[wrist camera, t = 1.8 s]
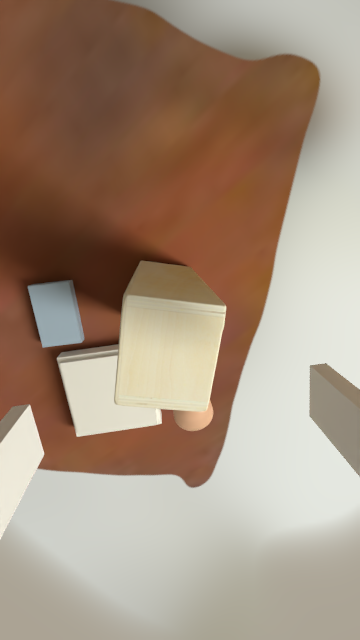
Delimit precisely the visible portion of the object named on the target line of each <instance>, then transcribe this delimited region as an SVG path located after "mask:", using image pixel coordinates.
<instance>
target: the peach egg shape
mask: <svg viewBox="0 0 360 640" xmlns="http://www.w3.org/2000/svg"><path fill="white" fill-rule="evenodd" d="M173 411H174V419H175V421H176V423H177V424H178V425H179V426H180V427H181V428H183V429H185V430H188V431H196V430H200V429H202V428H204V427H206V426H207V425H208V424H209V423H210V421H211V420H212V417H213V408H212V405H211V402H210V399H209V404H208V408H207V410H206V411H201V412H197V411H182V410H173Z"/></svg>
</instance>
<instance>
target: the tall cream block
mask: <svg viewBox="0 0 360 640" xmlns="http://www.w3.org/2000/svg"><path fill="white" fill-rule="evenodd" d="M225 314H226V305H225V304H224V303H223V302H222V301H221V300H220V299H219V298H218V296H217V295H216V294H215V293H214V292H213V291H212V290H211V289H210V288H209V287H208V286H207V285H206V284H205V282H204V281H203V280H202V279H201V278H200V277H199V276H198V275H197V274H196V273H195V272H194V271H193V269H192V268H191V267H187V266H180V265H172V264H165V263H157V262H150V261H140V263H139V265H138V267H137V269H136V271H135V273H134V275H133V277H132V279H131V280H130V282H129V284H128V287H127V289H126V291H125V293H124V295H123V301H122V311H121V323H120V335H119V347H118V359H117V371H116V383H115V395H114V402H115V404H116V405H121V406H132V407H144V408H157V409H170V410H182V411H197V412H201V411H206V410H207V408H208V404H209V399H210V394H211V389H212V383H213V378H214V373H215V368H216V362H217V357H218V352H219V346H220V341H221V336H222V331H223V329H224V324H225V321H224V320H225Z"/></svg>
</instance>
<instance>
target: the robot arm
mask: <svg viewBox="0 0 360 640" xmlns="http://www.w3.org/2000/svg"><path fill="white" fill-rule="evenodd" d="M310 417H311V418H312V419H313V421H314V422H315V423H316V424H317V425H318V427H319V428H320V429H321V430H322V431H323V433H324V434H325V435H326V436H327V438H328V439H329V440H330V441H331V442H332V444H333V445H334V446H335V447H336V448H337V450H338V451H339V452H340V453H341V454H342V456H343V457H344V458H345V459H346V460H347V462H348V463H349V464H350V465H351V467H352V468H353V469H354V470H355V471H356V473H357V474H358V475H359V476H360V390H359V389H358V388H357V387H355V386H354V385H353V384H352V383H350V382H349V381H348V380H346V379H345V378H344V377H343V376H341V375H340V374H339V373H337V372H336V371H335V370H334V369H332V368H331V367H330V366H328V365H327V364H326V363H325V364H318V365H311V366H310ZM43 456H44V451H43V448H42V445H41V441H40V438H39V434H38V431H37V427H36V424H35V421H34V417H33V414H32V410H31V407H30V404H28V405H21V406H14V407H12V408H11V409H10V411H9V412H8V413H7V414H6V415H5V417H4V418H3V419H2V420H1V421H0V539H1V537H2V535H3V533H4V531H5V529H6V527H7V525H8V523H9V522H10V520H11V518H12V515H13V514H14V512H15V510H16V508H17V506H18V504H19V502H20V500H21V498H22V496H23V494H24V492H25V490H26V489H27V487H28V485H29V483H30V481H31V479H32V477H33V475H34V473H35V471H36V469H37V467H38V465H39V463H40V462H41V460H42V458H43Z"/></svg>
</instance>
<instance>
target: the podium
mask: <svg viewBox="0 0 360 640" xmlns="http://www.w3.org/2000/svg"><path fill="white" fill-rule="evenodd" d="M118 347H119V344H117V345H110V346H103V347H96V348H88V349H81V350H74V351H67V352H61V353H60V355H59V356H58V357H57V362H58V365H59V369H60V373H61V377H62V381H63V385H64V389H65V392H66V396H67V400H68V404H69V408H70V412H71V416H72V419H73V423H74V427H75V431H76V435H77V436H78V437H79V436H85V435H92V434H99V433H106V432H112V431H119V430H126V429H132V428H139V427H146V426H153V425H158V424H162V415H161V409H157V408H144V407H132V406H121V405H116V404H115V402H114V395H115V383H116V371H117V359H118Z"/></svg>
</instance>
